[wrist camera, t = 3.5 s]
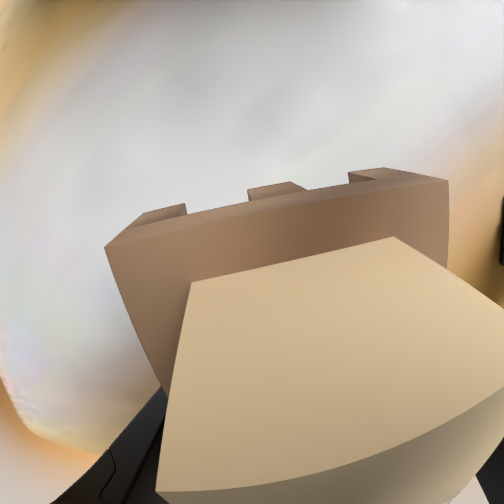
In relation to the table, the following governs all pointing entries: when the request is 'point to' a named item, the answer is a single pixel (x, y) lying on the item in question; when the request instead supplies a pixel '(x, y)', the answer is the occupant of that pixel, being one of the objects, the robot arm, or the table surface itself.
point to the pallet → (264, 242)
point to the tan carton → (334, 383)
